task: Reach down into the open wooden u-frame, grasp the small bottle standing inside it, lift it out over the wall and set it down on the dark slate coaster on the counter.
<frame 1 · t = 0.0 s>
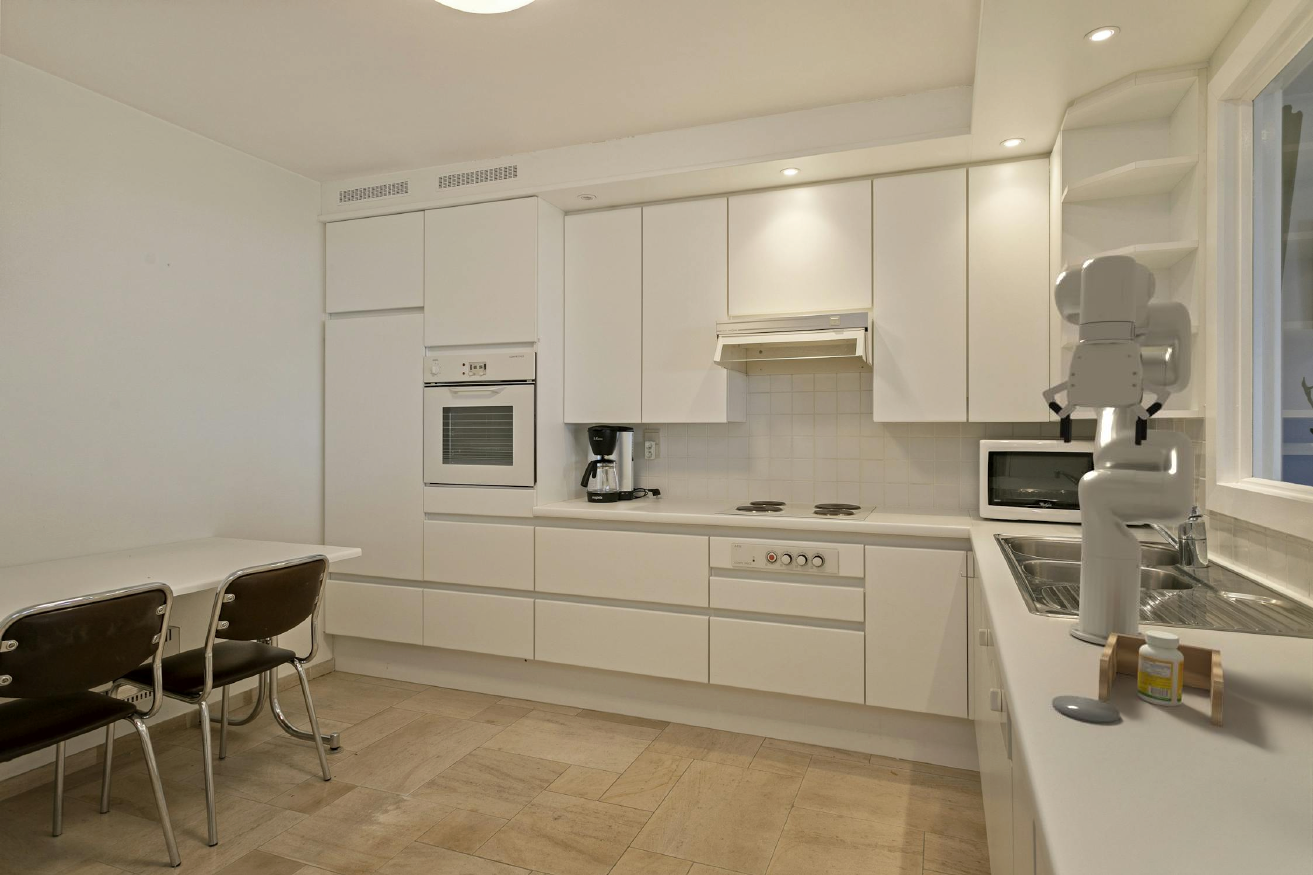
hand: (1101, 444, 115), 37 cm above the worktop, tool pointing down, fingers open, 9 cm apart
wooden u-frame: (1159, 695, 106), on the worktop
supplement bottle: (1159, 701, 104), on the worktop
slate coaster: (1085, 710, 100), on the worktop
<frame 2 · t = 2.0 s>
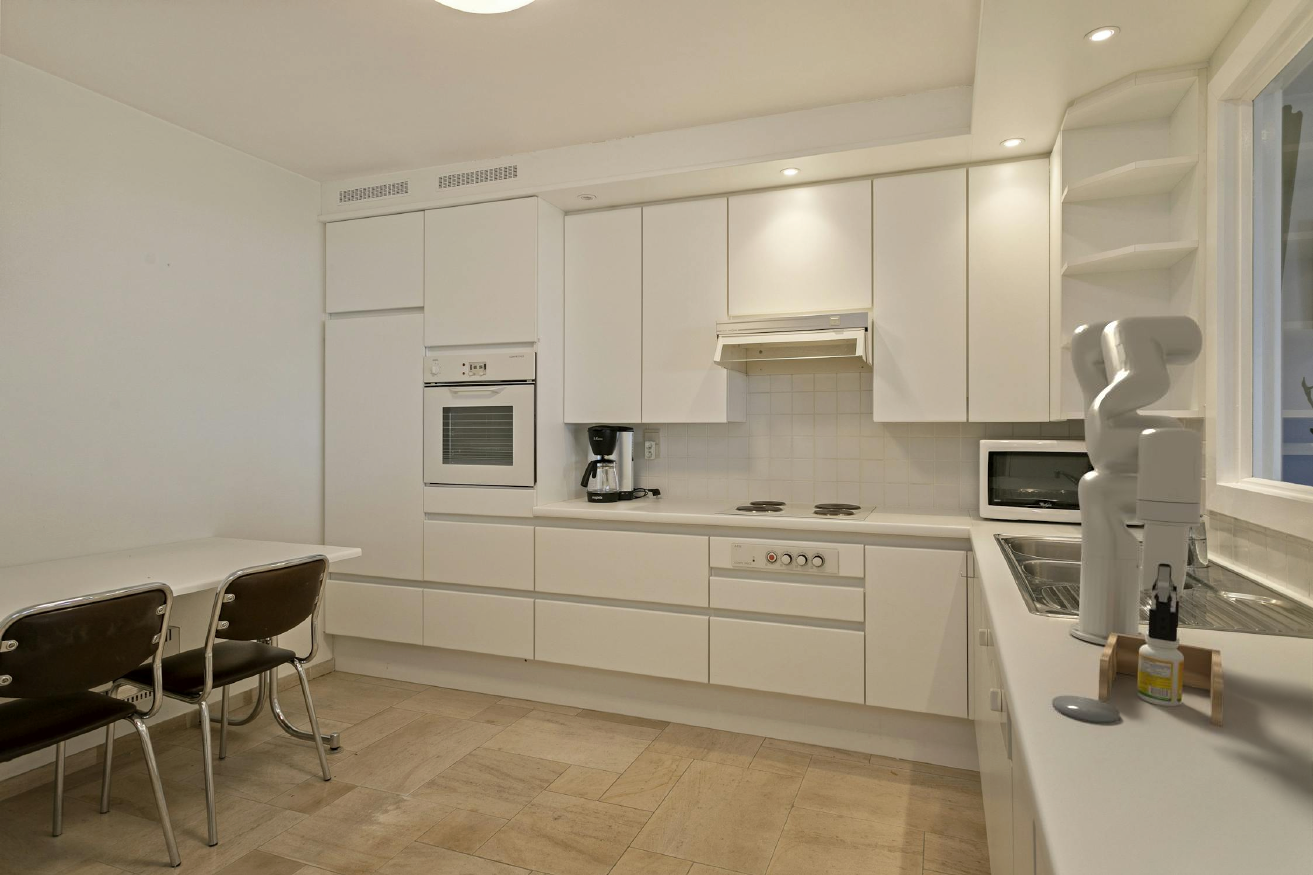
hand: (1163, 632, 103), 10 cm above the worktop, tool pointing down, fingers open, 9 cm apart
nothing on the worktop moved.
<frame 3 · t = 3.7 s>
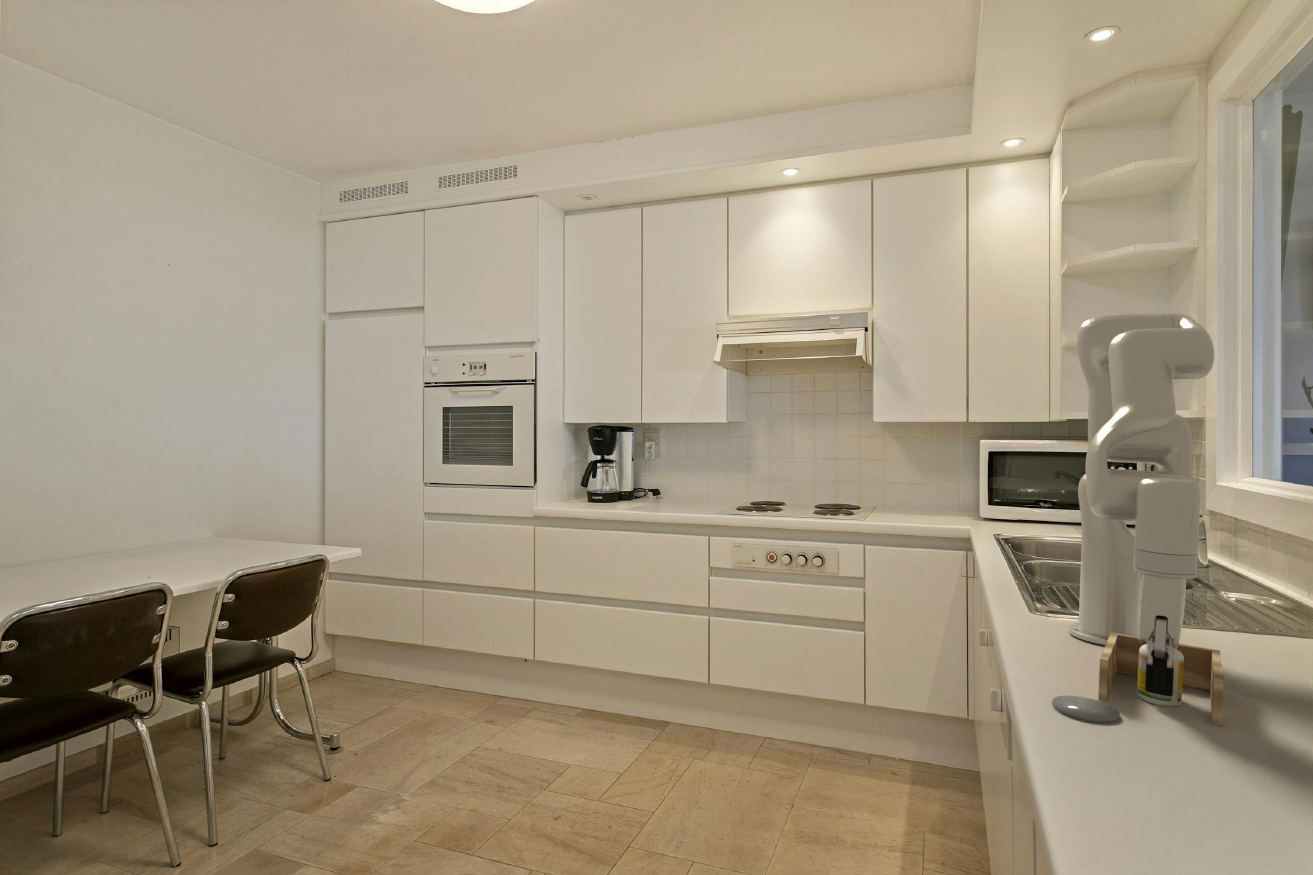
hand: (1159, 686, 104), 2 cm above the worktop, tool pointing down, fingers closed on supplement bottle, 5 cm apart
supplement bottle: (1159, 701, 104), on the worktop, touching gripper
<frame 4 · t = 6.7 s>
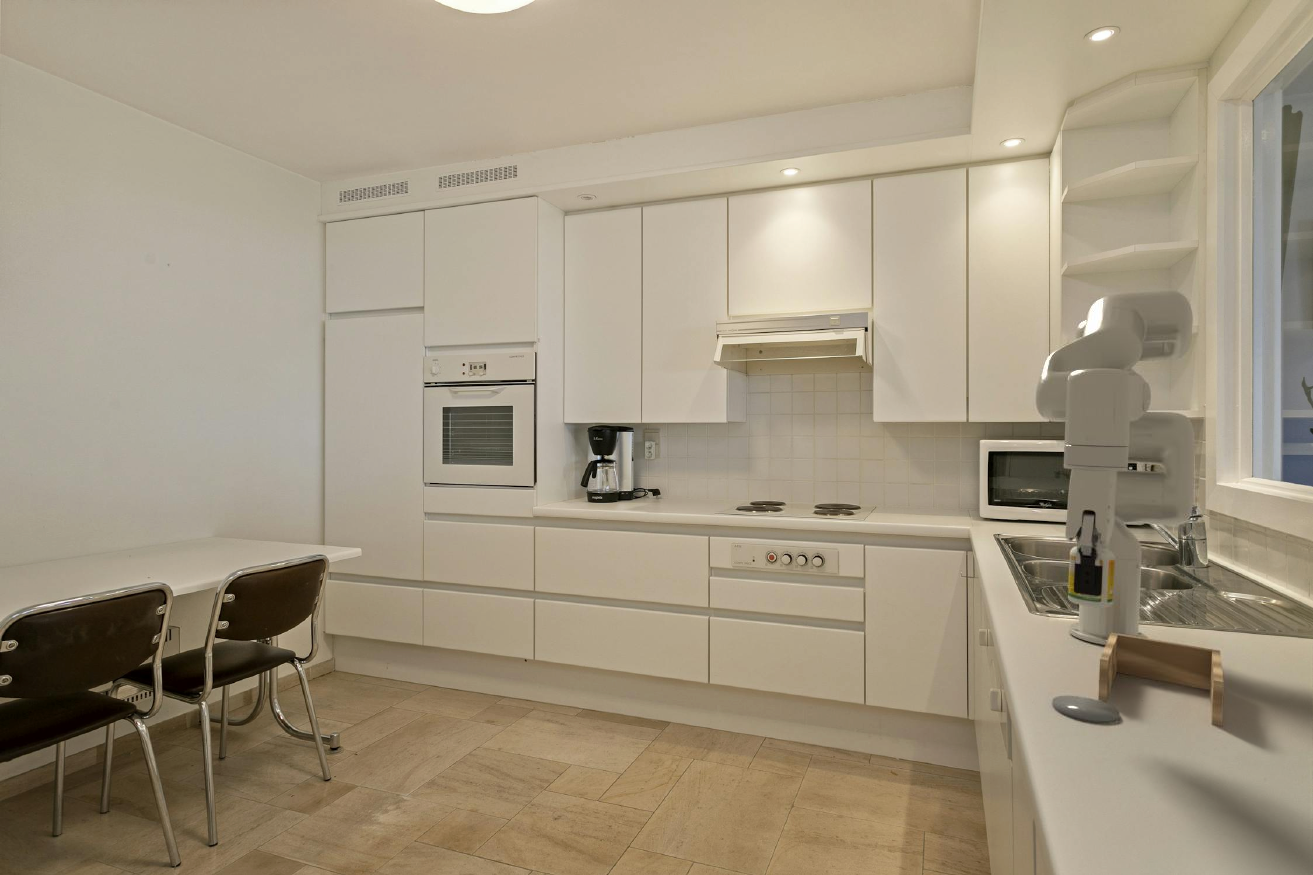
hand: (1090, 588, 99), 17 cm above the worktop, tool pointing down, fingers closed on supplement bottle, 5 cm apart
supplement bottle: (1090, 604, 99), point 15 cm above the worktop, touching gripper
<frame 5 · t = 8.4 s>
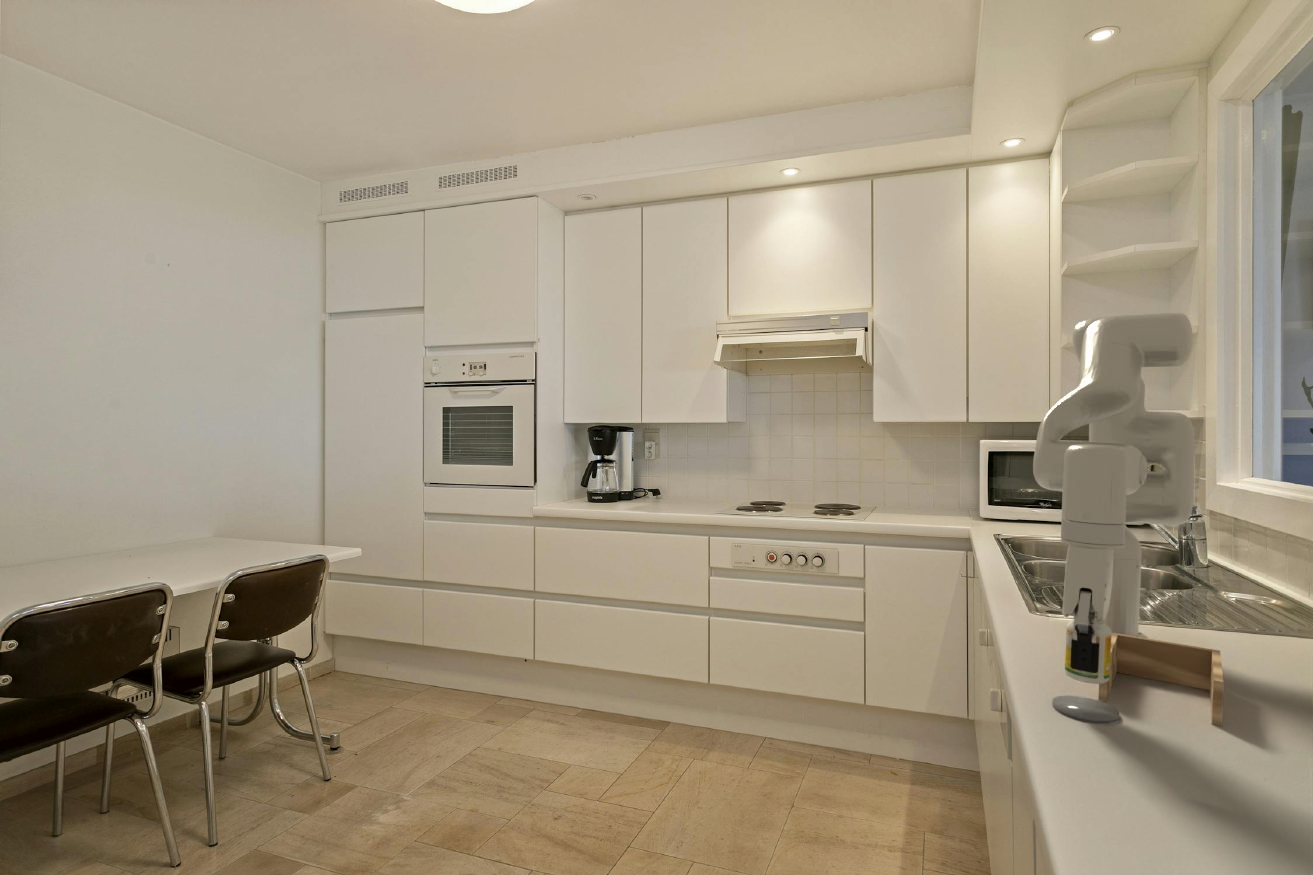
hand: (1087, 663, 99), 7 cm above the worktop, tool pointing down, fingers closed on supplement bottle, 5 cm apart
supplement bottle: (1086, 679, 99), point 4 cm above the worktop, touching gripper
when the fingers open (4 cm above the worktop, at t = 9.8 s): supplement bottle drops 1 cm, resting on slate coaster.
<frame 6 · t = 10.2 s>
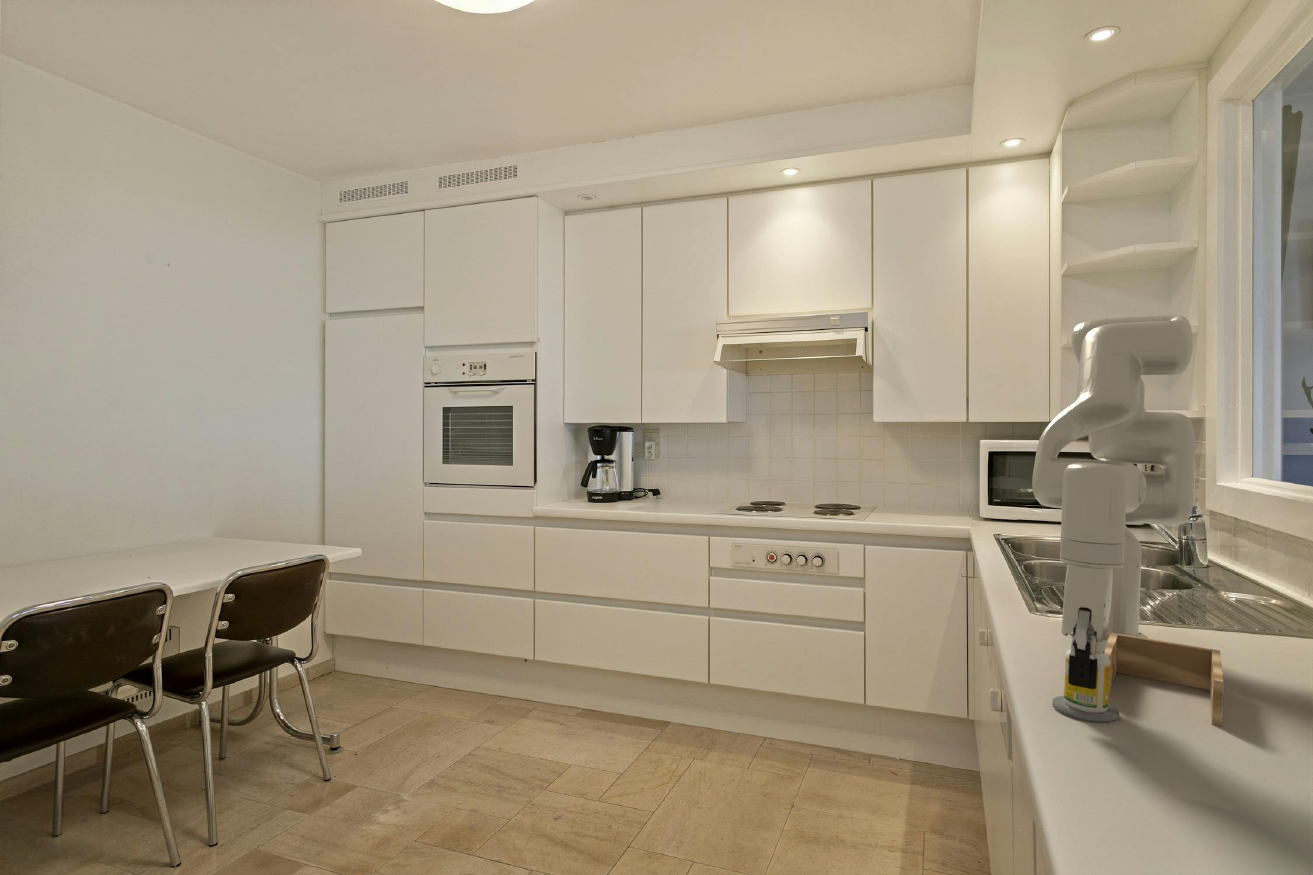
hand: (1086, 676, 99), 5 cm above the worktop, tool pointing down, fingers open, 9 cm apart
supplement bottle: (1085, 707, 100), resting on slate coaster
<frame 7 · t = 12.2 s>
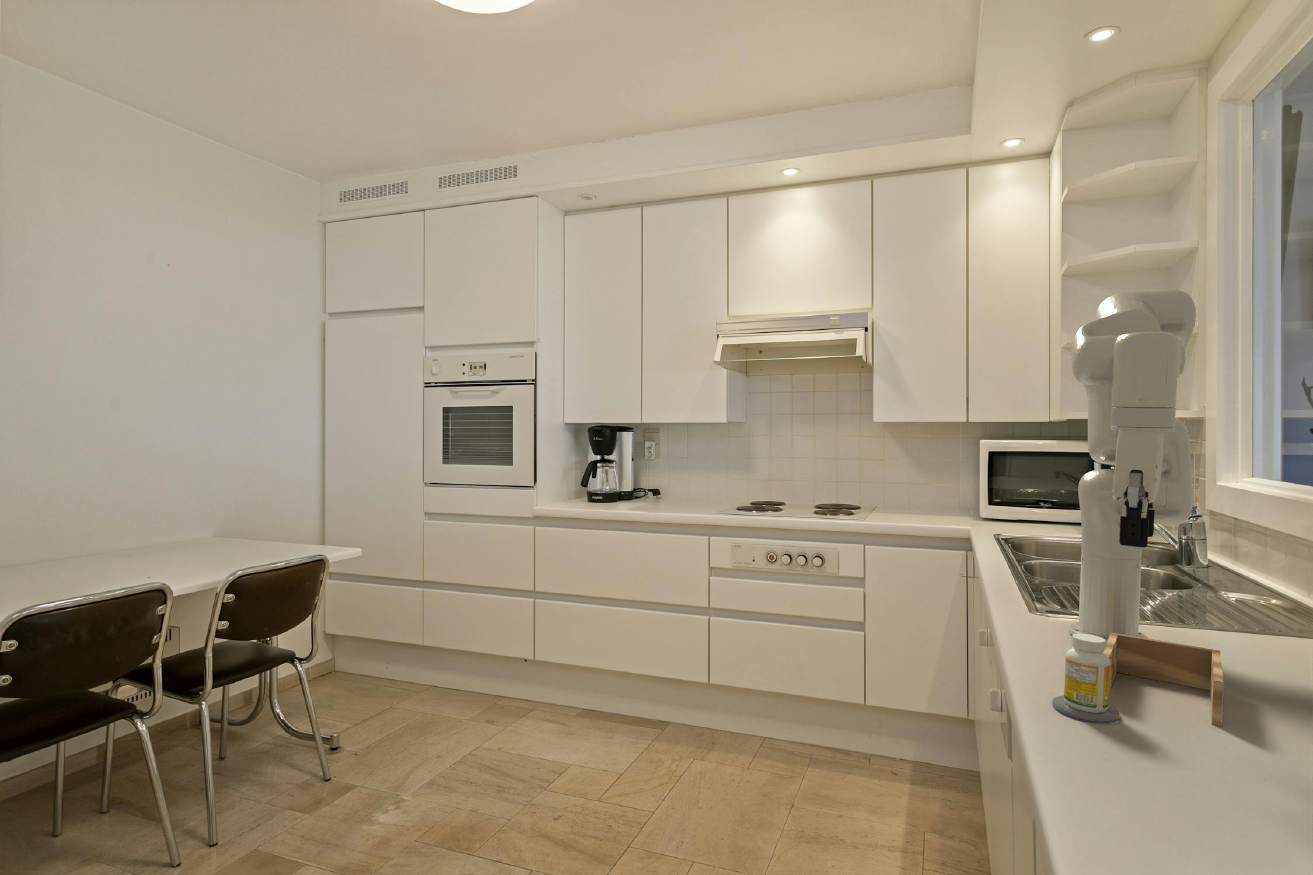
hand: (1136, 540, 102), 23 cm above the worktop, tool pointing down, fingers open, 9 cm apart
nothing on the worktop moved.
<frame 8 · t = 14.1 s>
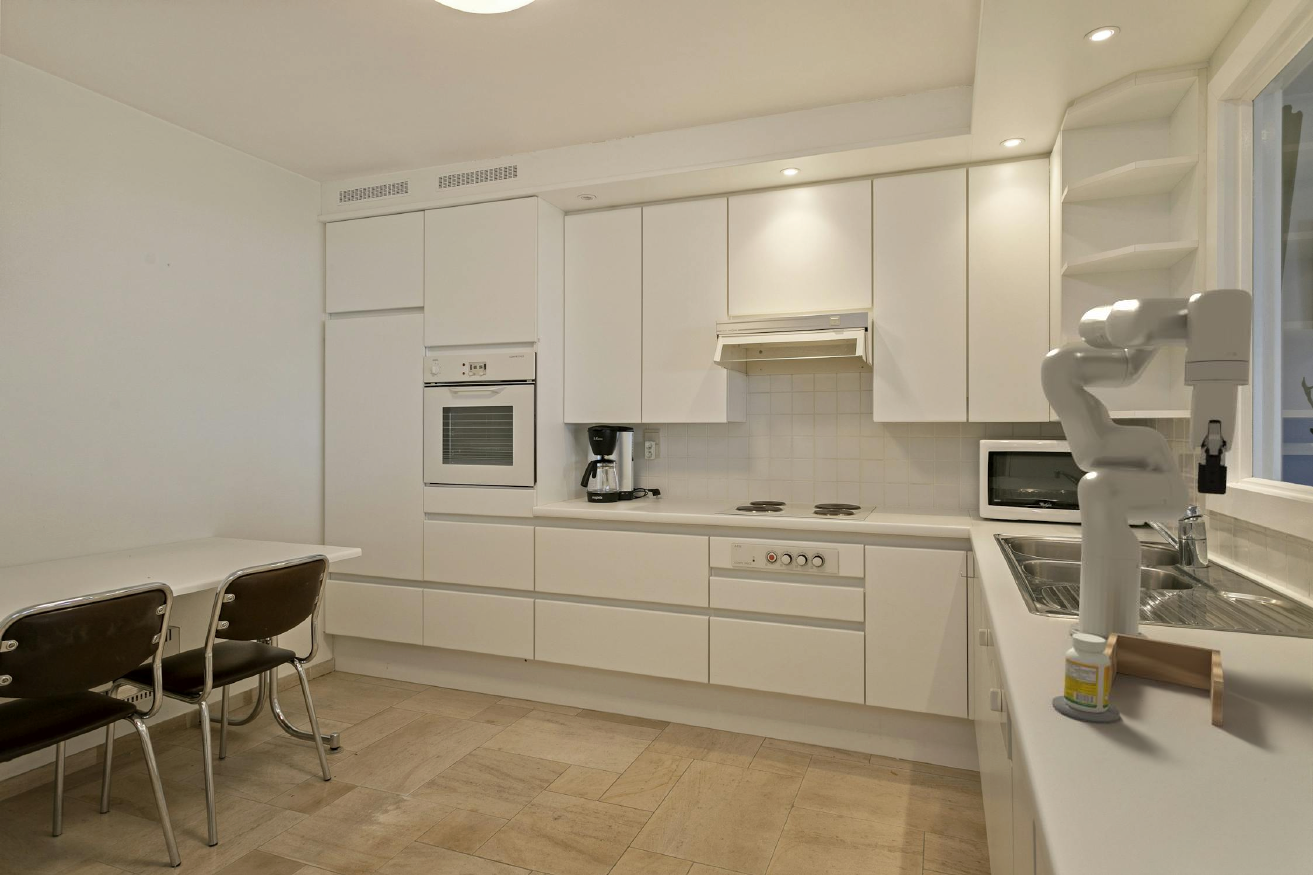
hand: (1210, 491, 106), 30 cm above the worktop, tool pointing down, fingers open, 9 cm apart
nothing on the worktop moved.
at the end: supplement bottle inside the target area on the slate coaster (0.2 cm from its centre), point 0.4 cm above the slate coaster's base; supplement bottle tilted 0°; the gripper is holding nothing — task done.
